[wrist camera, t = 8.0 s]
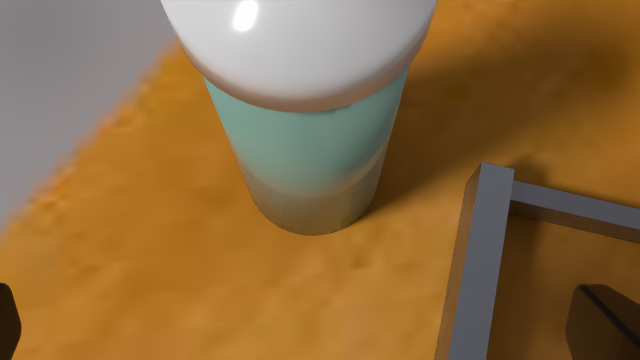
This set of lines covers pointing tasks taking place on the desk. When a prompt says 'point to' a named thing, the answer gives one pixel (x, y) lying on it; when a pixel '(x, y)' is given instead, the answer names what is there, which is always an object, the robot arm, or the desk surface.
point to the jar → (305, 95)
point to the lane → (487, 244)
